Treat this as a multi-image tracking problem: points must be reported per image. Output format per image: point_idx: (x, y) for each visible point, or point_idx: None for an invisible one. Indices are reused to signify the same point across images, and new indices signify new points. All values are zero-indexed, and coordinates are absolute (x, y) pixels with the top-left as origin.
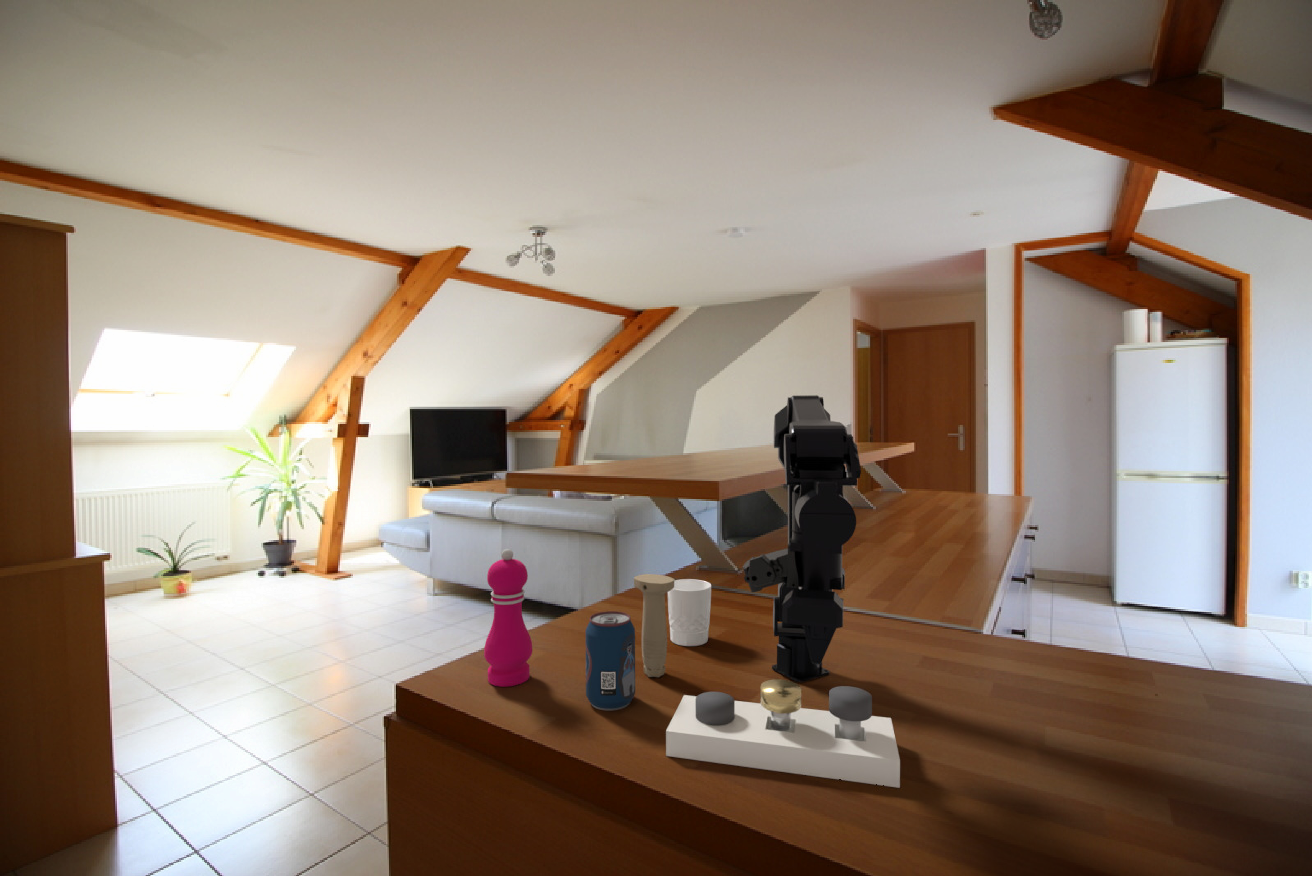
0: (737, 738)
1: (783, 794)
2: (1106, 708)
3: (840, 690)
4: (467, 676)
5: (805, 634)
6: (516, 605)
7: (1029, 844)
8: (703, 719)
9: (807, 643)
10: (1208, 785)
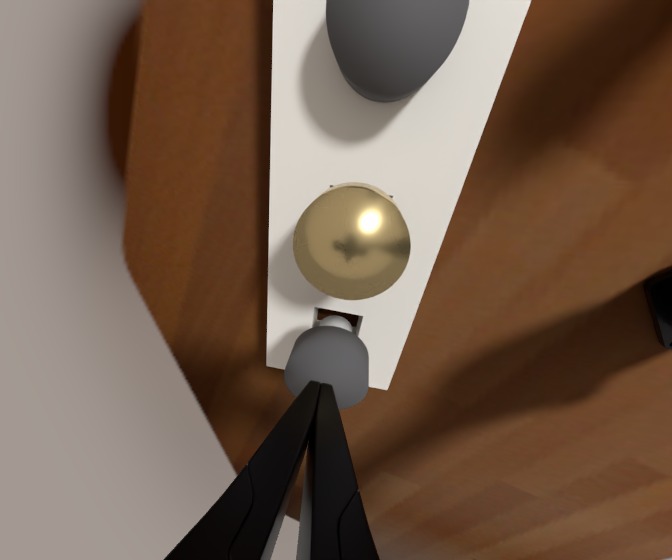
0: (278, 112)
1: (224, 199)
2: (452, 529)
3: (345, 372)
4: None
5: (231, 485)
6: None
7: (218, 400)
8: None
9: (265, 439)
10: None
